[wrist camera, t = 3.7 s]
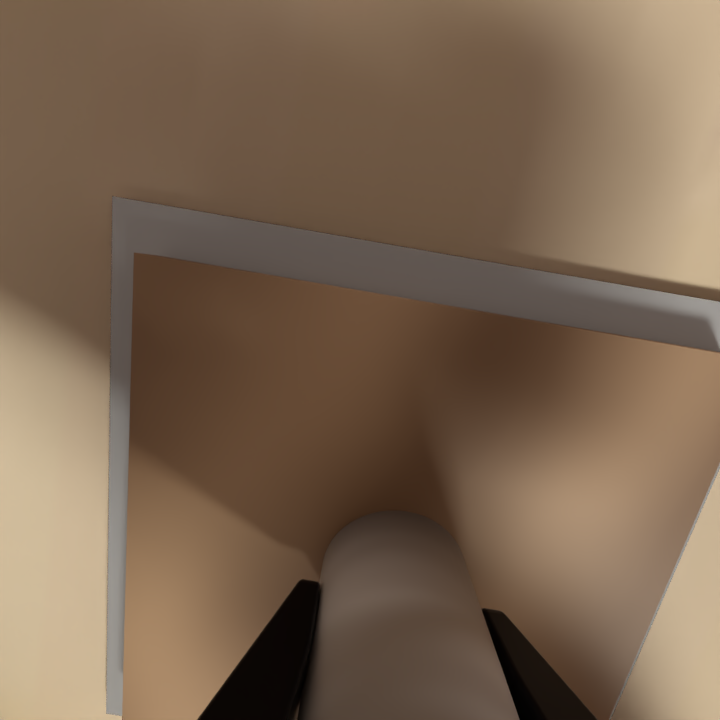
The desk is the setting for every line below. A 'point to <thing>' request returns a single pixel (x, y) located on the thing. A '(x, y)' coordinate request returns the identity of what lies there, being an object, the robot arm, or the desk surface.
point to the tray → (361, 272)
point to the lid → (396, 492)
